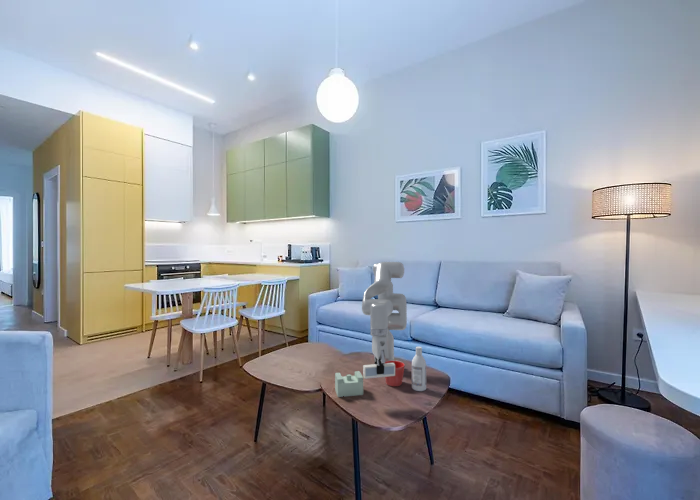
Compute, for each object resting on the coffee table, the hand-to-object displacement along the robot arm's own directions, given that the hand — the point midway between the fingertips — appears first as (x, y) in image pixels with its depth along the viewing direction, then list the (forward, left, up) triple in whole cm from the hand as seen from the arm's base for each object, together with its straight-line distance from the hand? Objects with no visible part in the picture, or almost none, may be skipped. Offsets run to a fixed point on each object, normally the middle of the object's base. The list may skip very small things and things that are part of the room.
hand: (379, 371), depth 139 cm
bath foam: (-23, -9, -13) cm, 28 cm away
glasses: (0, 0, -2) cm, 2 cm away
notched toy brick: (+11, -12, -13) cm, 21 cm away
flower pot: (-13, -17, -13) cm, 25 cm away
